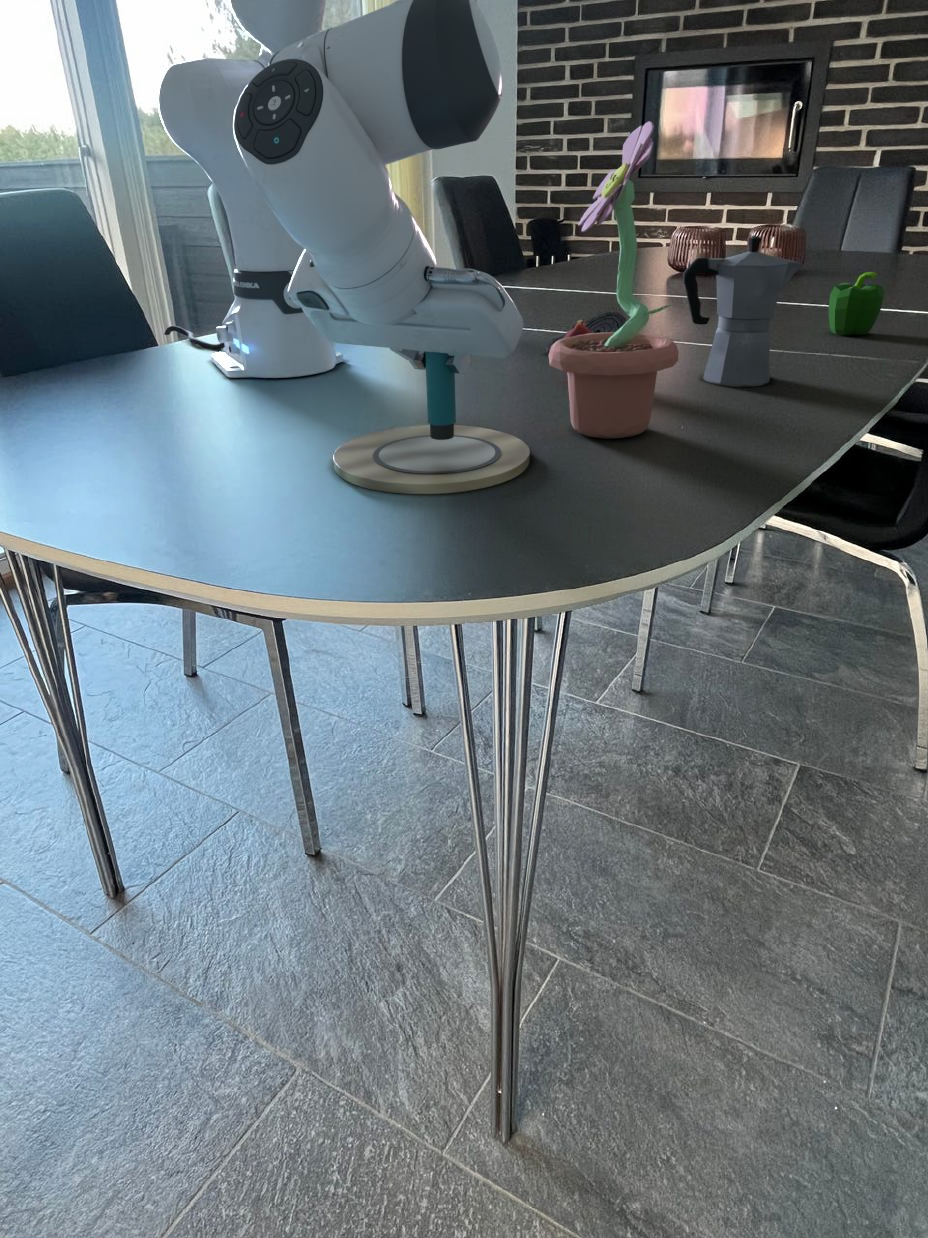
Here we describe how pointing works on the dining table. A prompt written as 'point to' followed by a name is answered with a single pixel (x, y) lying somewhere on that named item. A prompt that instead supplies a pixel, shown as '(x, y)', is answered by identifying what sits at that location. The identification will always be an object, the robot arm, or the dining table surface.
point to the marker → (440, 396)
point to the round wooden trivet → (431, 460)
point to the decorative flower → (623, 360)
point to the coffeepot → (740, 312)
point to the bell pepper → (855, 306)
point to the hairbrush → (598, 325)
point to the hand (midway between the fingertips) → (443, 365)
